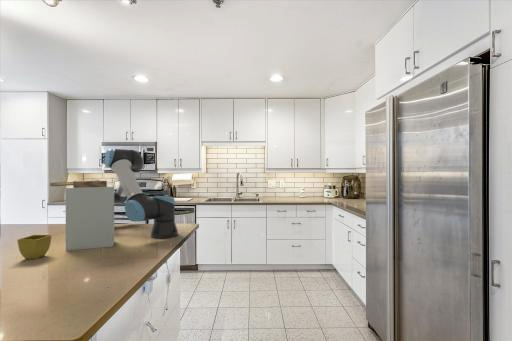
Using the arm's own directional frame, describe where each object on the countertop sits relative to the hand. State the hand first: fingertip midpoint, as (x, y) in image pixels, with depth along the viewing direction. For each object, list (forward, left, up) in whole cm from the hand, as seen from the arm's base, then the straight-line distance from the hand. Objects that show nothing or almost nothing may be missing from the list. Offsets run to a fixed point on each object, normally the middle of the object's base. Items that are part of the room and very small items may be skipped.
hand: (97, 191), depth 167 cm
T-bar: (0, +19, +4) cm, 19 cm away
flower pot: (+20, +37, -26) cm, 49 cm away
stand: (0, +25, -26) cm, 36 cm away
